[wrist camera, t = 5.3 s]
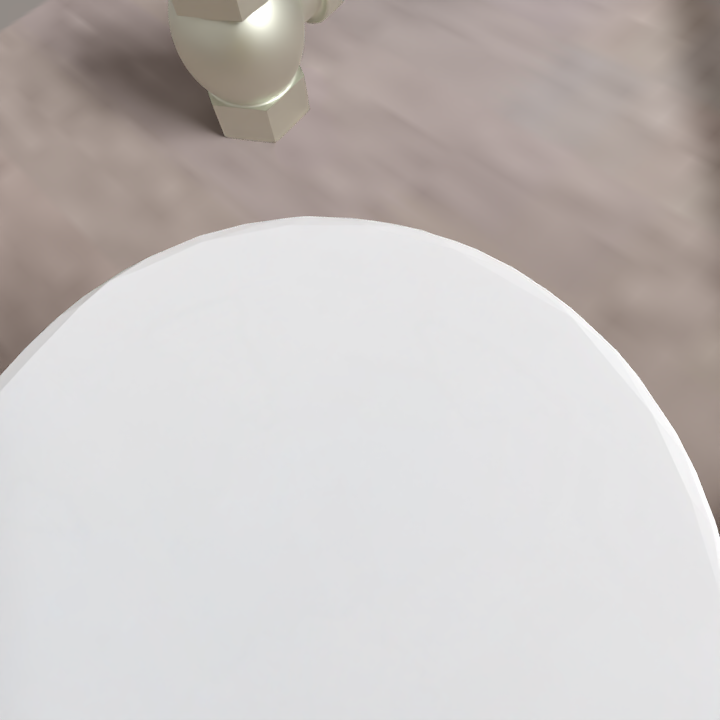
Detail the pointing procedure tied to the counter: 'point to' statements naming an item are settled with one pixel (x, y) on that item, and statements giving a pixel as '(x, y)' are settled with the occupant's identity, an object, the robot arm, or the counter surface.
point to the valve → (248, 59)
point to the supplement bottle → (344, 497)
